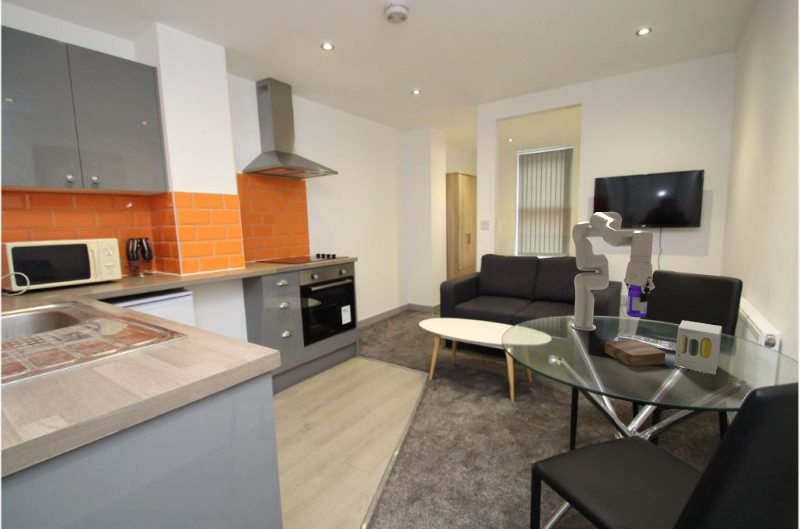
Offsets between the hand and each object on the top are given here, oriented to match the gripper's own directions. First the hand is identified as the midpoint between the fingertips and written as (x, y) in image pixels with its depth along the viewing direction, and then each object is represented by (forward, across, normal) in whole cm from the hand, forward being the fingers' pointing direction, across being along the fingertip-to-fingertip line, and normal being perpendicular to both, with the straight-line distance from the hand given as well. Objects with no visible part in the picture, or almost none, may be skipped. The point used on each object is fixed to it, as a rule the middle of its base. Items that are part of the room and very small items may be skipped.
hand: (637, 299), depth 154 cm
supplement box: (+27, +13, +18) cm, 35 cm away
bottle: (+8, 0, 0) cm, 8 cm away
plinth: (+27, 0, 0) cm, 27 cm away
